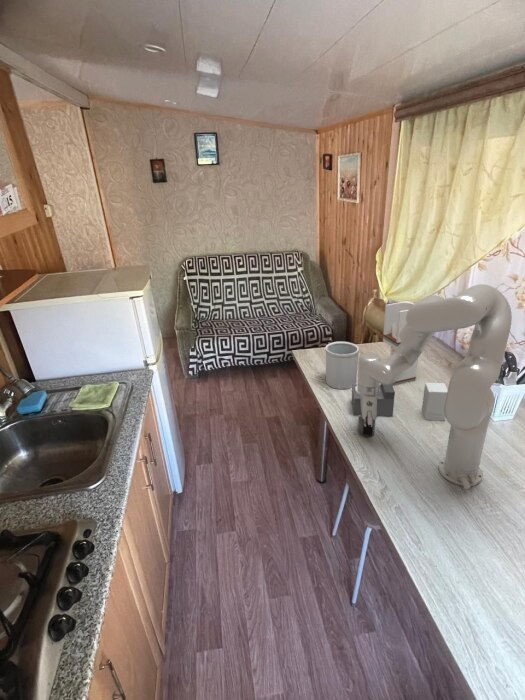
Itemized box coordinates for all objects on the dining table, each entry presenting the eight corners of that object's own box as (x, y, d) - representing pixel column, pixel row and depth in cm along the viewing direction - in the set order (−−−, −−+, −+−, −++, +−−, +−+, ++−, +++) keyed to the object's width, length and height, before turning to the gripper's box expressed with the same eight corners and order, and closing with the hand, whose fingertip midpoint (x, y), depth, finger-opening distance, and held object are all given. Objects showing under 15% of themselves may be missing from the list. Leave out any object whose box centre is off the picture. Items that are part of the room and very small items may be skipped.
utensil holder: (337, 371, 190) (337, 338, 183) (363, 380, 180) (365, 346, 173) (318, 382, 181) (318, 348, 173) (345, 393, 171) (346, 357, 163)
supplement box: (445, 421, 148) (449, 392, 143) (424, 420, 150) (428, 391, 144) (441, 410, 154) (445, 382, 149) (421, 409, 156) (424, 382, 151)
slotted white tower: (401, 370, 186) (407, 300, 172) (415, 380, 177) (423, 307, 162) (380, 375, 183) (385, 304, 169) (393, 385, 174) (400, 311, 160)
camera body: (392, 416, 153) (394, 392, 148) (353, 415, 155) (354, 391, 150) (388, 401, 163) (390, 378, 158) (351, 400, 165) (352, 378, 160)
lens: (375, 437, 142) (376, 420, 139) (358, 436, 143) (359, 420, 140) (373, 427, 147) (374, 411, 144) (356, 426, 148) (357, 411, 145)
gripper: (383, 400, 129) (380, 443, 136) (376, 375, 144) (373, 416, 152) (360, 399, 130) (358, 443, 137) (355, 375, 145) (354, 415, 153)
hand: (366, 428), depth 144 cm, fingers closed on lens, 6 cm apart
